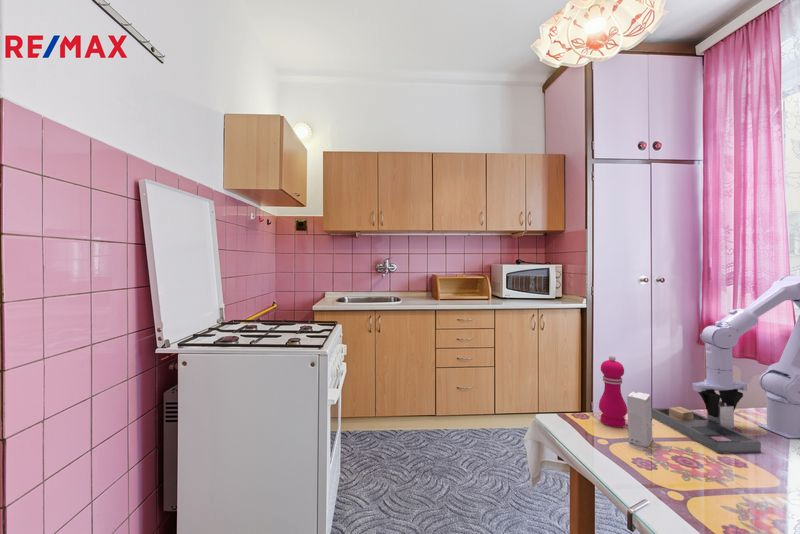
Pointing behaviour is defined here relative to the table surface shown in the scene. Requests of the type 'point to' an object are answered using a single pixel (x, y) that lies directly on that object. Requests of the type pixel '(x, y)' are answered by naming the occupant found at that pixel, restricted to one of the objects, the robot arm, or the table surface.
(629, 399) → the skincare box
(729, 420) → the grey block with tab
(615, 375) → the pepper mill
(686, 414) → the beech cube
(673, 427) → the grey slotted frame
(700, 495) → the table surface
